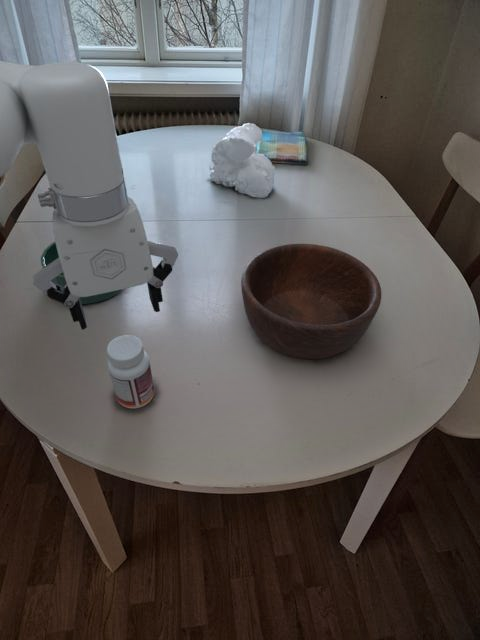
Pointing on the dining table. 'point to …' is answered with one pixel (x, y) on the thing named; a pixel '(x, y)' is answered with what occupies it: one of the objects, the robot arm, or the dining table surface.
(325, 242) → the dining table surface
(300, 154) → the colourful book
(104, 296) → the green faceted bowl
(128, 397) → the pill bottle
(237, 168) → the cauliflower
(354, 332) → the wooden bowl
